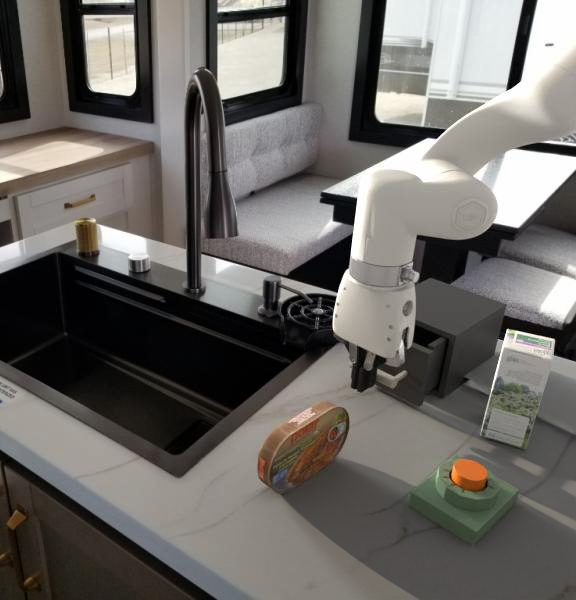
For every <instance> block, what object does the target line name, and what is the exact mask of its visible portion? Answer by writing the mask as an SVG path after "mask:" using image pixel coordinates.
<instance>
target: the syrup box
mask: <svg viewBox="0 0 576 600" xmlns="http://www.w3.org/2000/svg"><path fill="white" fill-rule="evenodd" d="M555 344H556V339H555V338H551V337H548V336H547V337H546V336H542V335H537V334H532V333H528V332H524V331H519V330H515V329H509V328H507V329H506V333H505V336H504V339H503V343H502V346H501V351H500V355H499V359H498V363H497V366H496V370H495V374H494V378H493V382H492V384H491V385H492V386H491V389H490V393H489V397H488V401H487V404H486V409H485V413H484V417H483V420H482V425H481V428H480V435H479V436H480V438H484V439H486V440H487V439H488V440H491V441H493V442H497V443H501V444H504V445H507V446H510V447H514V448H517V449H521V450H526V449H527V446H528V443H529V441H530V437H531V434H532V431H533V428H534V424H535V421H536V417H537V415H538V411H539V408H540V404H541V402H542V398H543V395H544V392H545V389H546V387H547V383H548V379H549V376H550V372H551V371H552V366H553V363H554V355H555V354H554V352H555V346H556V345H555Z"/></svg>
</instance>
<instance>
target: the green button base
mask: <svg viewBox="0 0 576 600" xmlns="http://www.w3.org/2000/svg"><path fill="white" fill-rule="evenodd" d="M461 459H464V458H463V457H461V456H459V455H457V454H455V455H453V456H452V457H451V458H450V459H448V460H446V461H444V462H442V464H440V465H439V466H438V467H437V469H436V470H435V471H434V472H433V473H431V475H429V476H427V478H425V479H424V480H422V482H420V483H419V484H418V485H417V486H416V487H415V488H413V489H412V490H411V491H410V494H409V499H408V504H407V505H408V507H410V508H412V509H413V510H415V511H416V512H418V513H419V514H421V515H422V516H425V517H426V518H427V519H429V520H431V521H432V522H434V523H435V524H437V525H439V526H440V527H441V528H443V529H445V530H446V531H448V532H449V533H451V534H453V535H454V536H456V537H457V538H459V539H461V540H462V541H463V542H465V543H466V544H468V545H470V546H472V547H474V546H475V544H477V543H478V542H479V541H480V540H481V538H482V537H483V536H484V535H485V534H487V533H488V531H490V530H491V528H492V527H494V525H496V523H498V522H499V520H500V519H501V518H502V517H503V516H505V515H506V513H507V512H508V511H509V510H510V509H512V507H513V506H514V505H515V504H516V503H517V499H518V496H519V493H520V488H518V487H516V486H514V485H512V484H511V483H508V482H507V481H505V480H503V479H501V478H499V477H497V476H496V475H494V474H493V473H492V471H491V470H490V469H488V468H486V467H485V469H486V470H487V473H488V476H487V479H486V483H485V487H484V489H483V490H481V491H478V492H472V491H467V490H463V489H462V488H460V487H458V486H456V485H455V484H454V483H453V482H452V480H451V474H452V470H453V466H454V463H455V462H456V461H458V460H461Z"/></svg>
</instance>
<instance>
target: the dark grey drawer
mask: <svg viewBox="0 0 576 600" xmlns="http://www.w3.org/2000/svg"><path fill="white" fill-rule="evenodd" d="M448 343H449V339H448V338H446V337H443V336H441V335H439V334H436V333H434V332H431V331H429V330H426V329H424V328H421V327H419V326H417V325H415V326H414V335H413V341H412V345H411V347H410V348H409V349H404V354H405V363H404V364H402V365H401V366H399V367H394V366H390V365H387V364H382V365H380V366H378V369H377V376H376V382H375V384H374V386H376V387H379V388H380V389H381V390H384V391H386V392H387V393H390V394H392V395H394V396H396V397H398V398H400V399H402V400H404V401H405V402H407V403H410V404H412V405H413V406H416V407H418V408H419V407H421V406H422V405H424V401H425V396H426V395H427V394H428V393H429V392H430V391H431V390H433V389H434V388H436V387H437V386H439V385H440V381H441V376H442V372H443V367H444V362H445V357H446V353H447V348H448ZM352 365H353V363H352V362H351V361H350V363H349V367H350V369H352Z"/></svg>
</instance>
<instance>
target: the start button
mask: <svg viewBox="0 0 576 600" xmlns="http://www.w3.org/2000/svg"><path fill="white" fill-rule="evenodd" d="M485 468H486V467H485V466H484V465H482V463H479V462H478V461H475V460H472V459H467V458H463V459H461V460H458V461H456V462H455V463H454V466H453V470H452V474H451V480H452V482H453V483H454V484H455V485H456V486H458V487H460V488H462V489H463V490H467V491H472V492H478V491H481V490H483V489H484V487H485V483H486V479H487V476H488V473H487V470H486V469H487V468H486V469H485Z"/></svg>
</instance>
